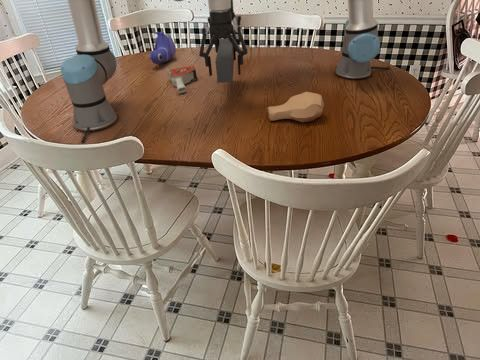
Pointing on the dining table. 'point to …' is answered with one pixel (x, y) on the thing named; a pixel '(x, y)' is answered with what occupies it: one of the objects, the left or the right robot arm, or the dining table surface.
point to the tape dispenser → (181, 77)
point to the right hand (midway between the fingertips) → (227, 59)
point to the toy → (162, 49)
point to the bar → (225, 61)
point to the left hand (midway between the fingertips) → (225, 74)
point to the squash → (298, 108)
